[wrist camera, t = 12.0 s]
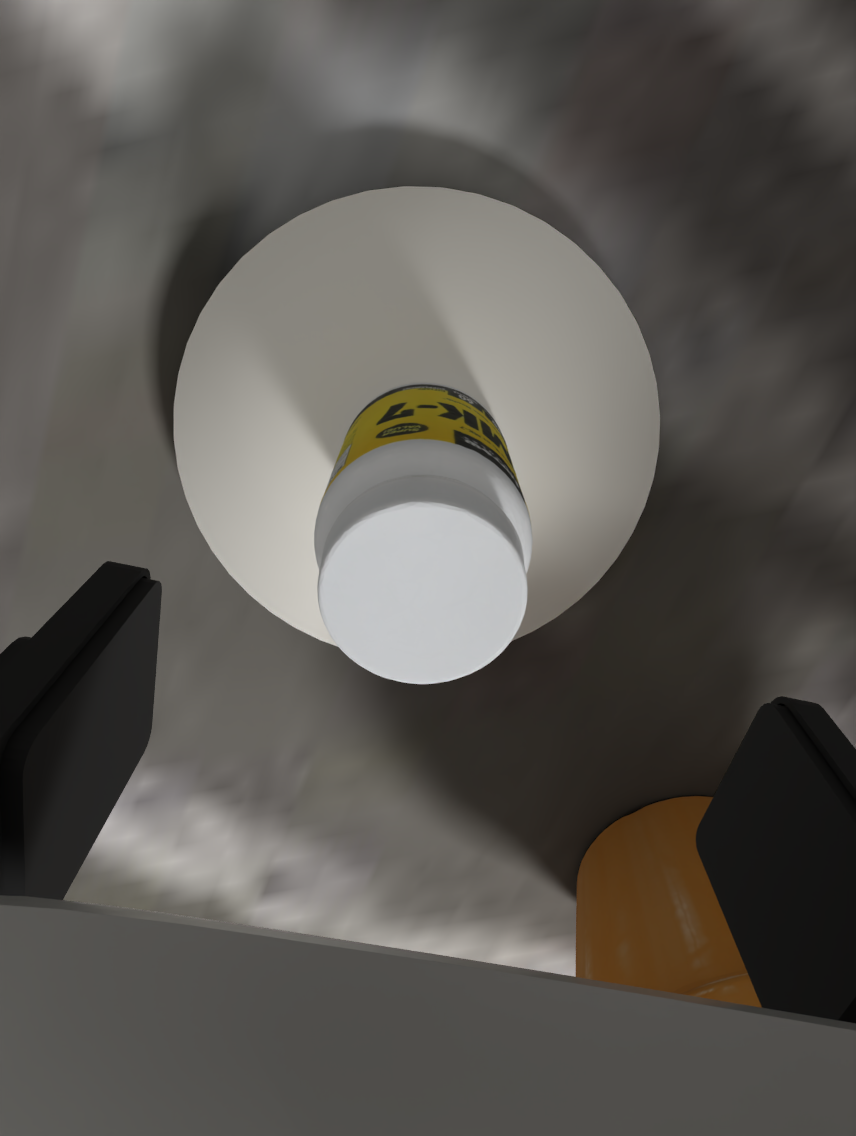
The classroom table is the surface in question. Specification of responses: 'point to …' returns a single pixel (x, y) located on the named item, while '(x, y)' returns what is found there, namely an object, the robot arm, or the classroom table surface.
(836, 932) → the robot arm
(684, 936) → the flower pot
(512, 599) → the supplement bottle
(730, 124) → the classroom table surface
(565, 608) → the dish
